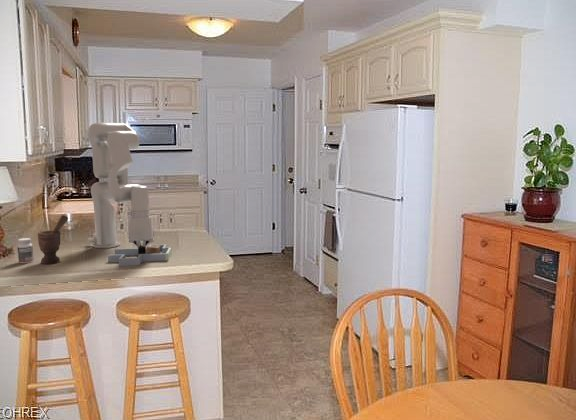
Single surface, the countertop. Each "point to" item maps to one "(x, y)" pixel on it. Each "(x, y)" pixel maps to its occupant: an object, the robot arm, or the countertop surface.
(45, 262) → the mortar and pestle
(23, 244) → the pill bottle
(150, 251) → the block
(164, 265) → the countertop surface
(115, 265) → the countertop surface
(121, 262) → the box
